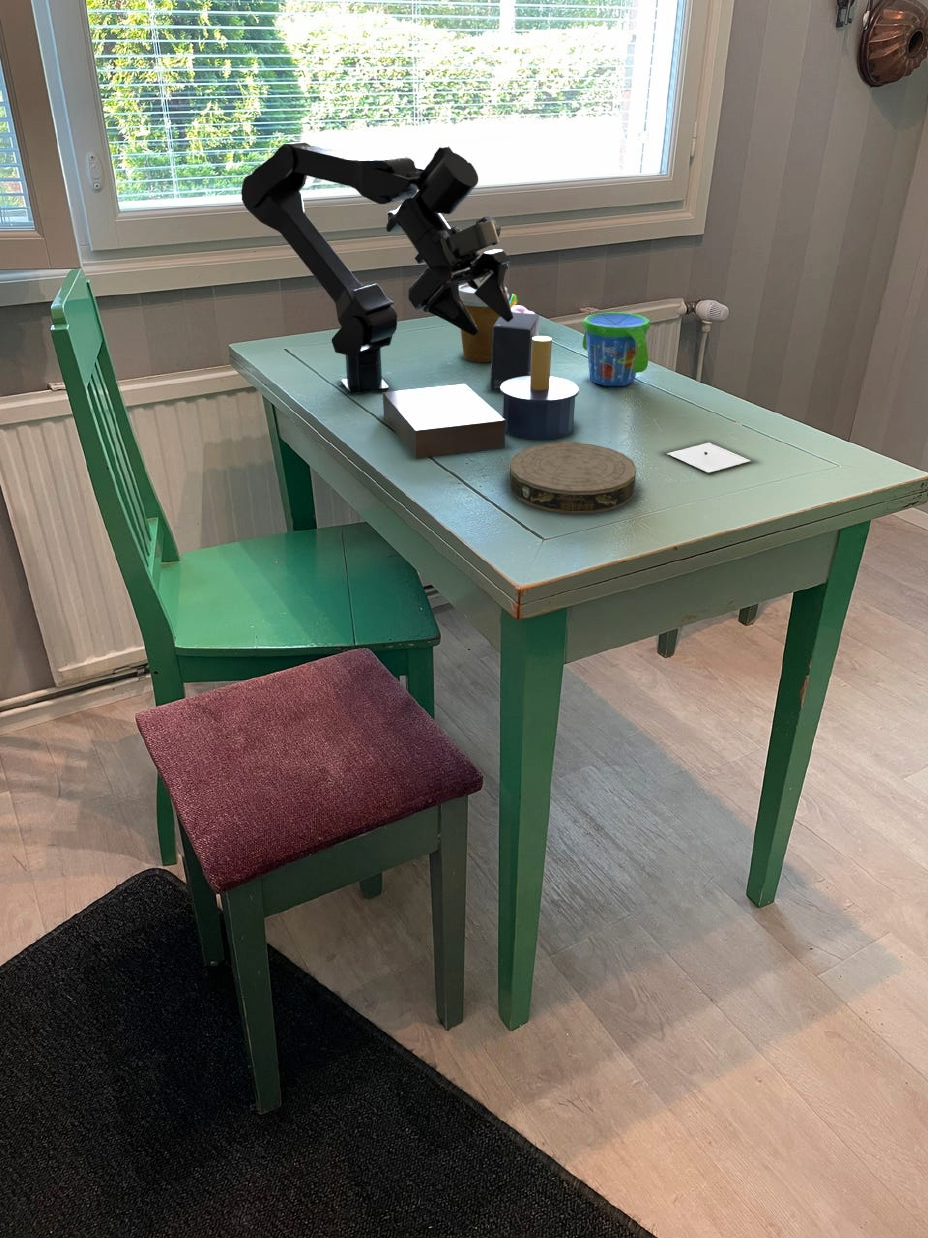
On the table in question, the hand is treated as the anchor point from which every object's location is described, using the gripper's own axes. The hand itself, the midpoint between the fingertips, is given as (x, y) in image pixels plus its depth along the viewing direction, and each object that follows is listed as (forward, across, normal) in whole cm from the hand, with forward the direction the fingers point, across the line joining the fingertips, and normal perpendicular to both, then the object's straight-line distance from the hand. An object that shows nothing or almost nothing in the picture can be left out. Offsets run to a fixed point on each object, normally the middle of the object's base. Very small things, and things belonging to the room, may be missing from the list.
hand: (493, 326), depth 135 cm
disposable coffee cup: (-3, +25, +23) cm, 34 cm away
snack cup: (+15, +26, +5) cm, 30 cm away
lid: (+11, 0, 0) cm, 11 cm away
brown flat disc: (+26, -16, -7) cm, 31 cm away
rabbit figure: (-8, +48, +28) cm, 56 cm away
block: (+8, -10, +11) cm, 17 cm away
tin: (+15, 0, +4) cm, 16 cm away
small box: (+6, +16, +14) cm, 22 cm away
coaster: (+33, +3, -14) cm, 36 cm away
